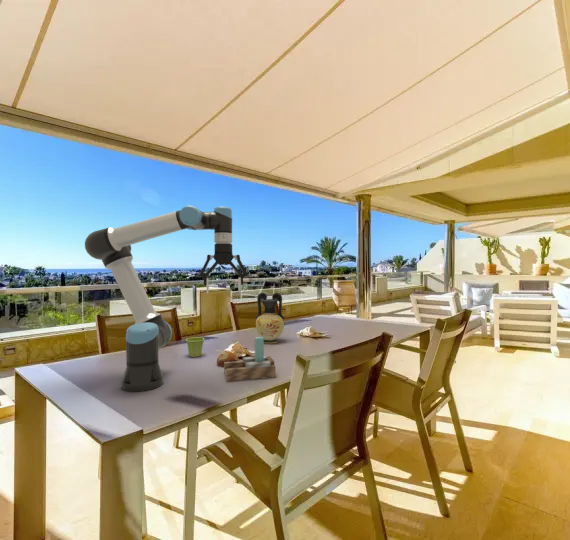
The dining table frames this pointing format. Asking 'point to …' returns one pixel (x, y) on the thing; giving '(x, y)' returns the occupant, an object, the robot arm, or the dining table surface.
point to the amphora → (269, 318)
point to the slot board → (249, 369)
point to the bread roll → (226, 358)
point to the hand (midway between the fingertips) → (223, 292)
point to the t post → (259, 349)
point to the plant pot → (195, 346)
